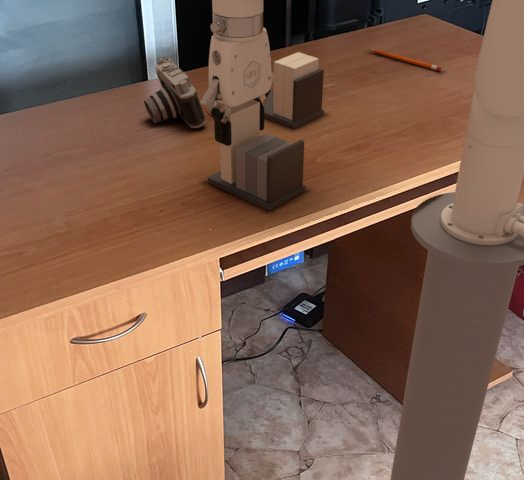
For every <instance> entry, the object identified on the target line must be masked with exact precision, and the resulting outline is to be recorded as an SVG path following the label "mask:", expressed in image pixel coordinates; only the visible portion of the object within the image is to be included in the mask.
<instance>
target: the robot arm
mask: <svg viewBox="0 0 524 480" xmlns="http://www.w3.org/2000/svg"><path fill="white" fill-rule="evenodd" d="M211 4H212V5H211V6H212V7H211V8H212V23H211V24H210V28H209V29H210V31H211V32H212V34H213V35H211V39H210V45H209V53H208V54H209V55H208V87H207V89H206V91H205V92H204V94H203V95H202V97H201V99H200V100H199V102H200V105H201V108H202V109H203V110H204V111H205V113H206V114H207V115H209V116H210V118H211V119H212V120H213V123H214V124H213V125H214V127H213V128H214V141H216V142H217V143H219V144H220V143H222V144H224V145H226V146H229V145H231V143H232V138H231V122H230V121H228V119H229V115H230V112H231V109H232V107H236V106H239V105H241V104H244V103H246V102H248V101H251V100H256V101H258V102H260V131H264V130H265V118H264V106H265V105H266V104H267V97H268V95H269V93H270V91H272V87H273V85H274V80H275V78H276V74H275V73H274V71H272V57H271V48H270V41H269V40H270V39H269V35H268V32H267V29H266V27H264V0H211ZM222 105H223V108H222ZM221 109H223V113H222V112H221V111H220V110H221ZM467 119H468V121H467V125H466V130H465V135H464V140H463V145H462V153H461V158H460V162H459V167H458V173H457V178H456V184H455V190H454V192H455V195H454V201H453V203H452V204H450V205H448V206H447V207H445V208H444V209H443V211H442V213H441V218H440V222H441V226H442V227H443V229H444V230H445V231H446V232H447V233H448V234H450V235H451V236H453V237H455V238H457V239H459V240H461V241H464V242H467V243H471V244H477V245H489V246H490V245H500V244H505V243H508V242H510V241H512V240H514V239H515V238H516V237H518V235H520V236H523V237H524V216H523V214H521V210H522V206H523V204H524V203H522V204H520V203H521V202H520V203H518V202H519V201H518V200H519V195H520V191H521V188H522V183H523V178H524V0H492V1H491V5H490V9H489V13H488V17H487V21H486V25H485V29H484V34H483V37H482V42H481V46H480V49H479V55H478V58H477V62H476V65H475V69H474V72H473V92H472V98H471V104H470V108H469V114H468V118H467Z"/></svg>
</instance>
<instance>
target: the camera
mask: <svg viewBox="0 0 524 480" xmlns="http://www.w3.org/2000/svg"><path fill="white" fill-rule="evenodd" d="M156 62H157V64H156V65H155V66H154V70H155V73H156V76H157V78H158V80H159V83H160V85H161V86H160V89H159V90H157V91H156V92H154V94H151V95H149V97H148V98H146V99H144V100H143V104H144V106H145V109H146V112H147V113H148V116H149V117H150V119H151V121H152V122H153V123H154V124H155V125H156V124H158V123H160V122H164V121H166V120H171V119H173V118H174V119H178V118H181V119H183V121H184V122H185V123H186V124H187V125H188V126H189V127H190V128H191V129H198V128H201V127H203V126H204V125H205V124H206V123H207V118H206V116H205V113H204V111H203V107H202V106H201V105H200V99H199V96H198V92H197V89H196V88H195V86H193V85H192V83H191V80H190V78H189V76H188V75H187V74H186V73H185V72H184V71H183V70H182V69H181V68H179V66H177V64H176V63H174V61H172V59H171V58H168V57H166V56H163V57H159V58H158V59H157V60H156Z"/></svg>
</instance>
